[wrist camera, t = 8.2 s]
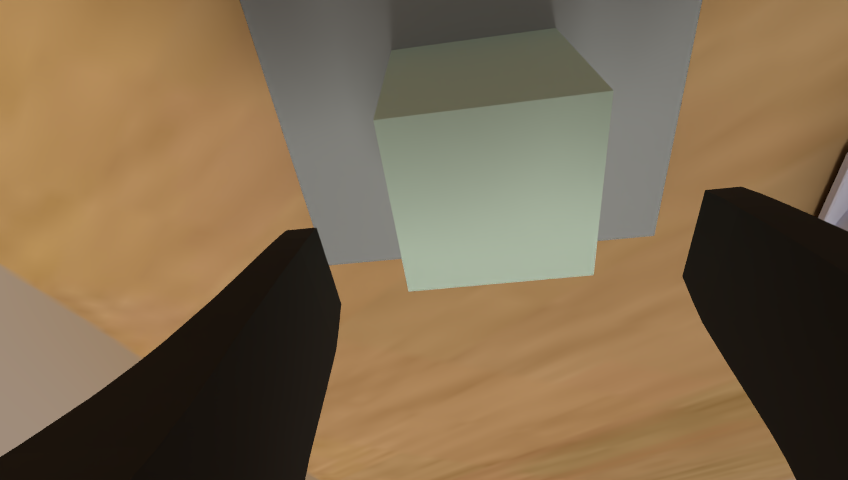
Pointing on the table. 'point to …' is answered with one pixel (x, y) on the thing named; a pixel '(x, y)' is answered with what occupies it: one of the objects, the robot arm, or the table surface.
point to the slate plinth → (449, 22)
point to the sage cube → (494, 159)
